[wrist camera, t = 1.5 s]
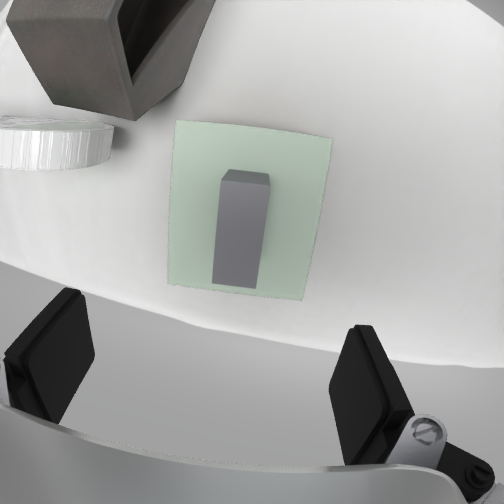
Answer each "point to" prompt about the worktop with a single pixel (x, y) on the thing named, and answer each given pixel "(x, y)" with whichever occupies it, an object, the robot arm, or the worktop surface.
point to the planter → (109, 49)
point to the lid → (244, 208)
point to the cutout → (53, 143)
